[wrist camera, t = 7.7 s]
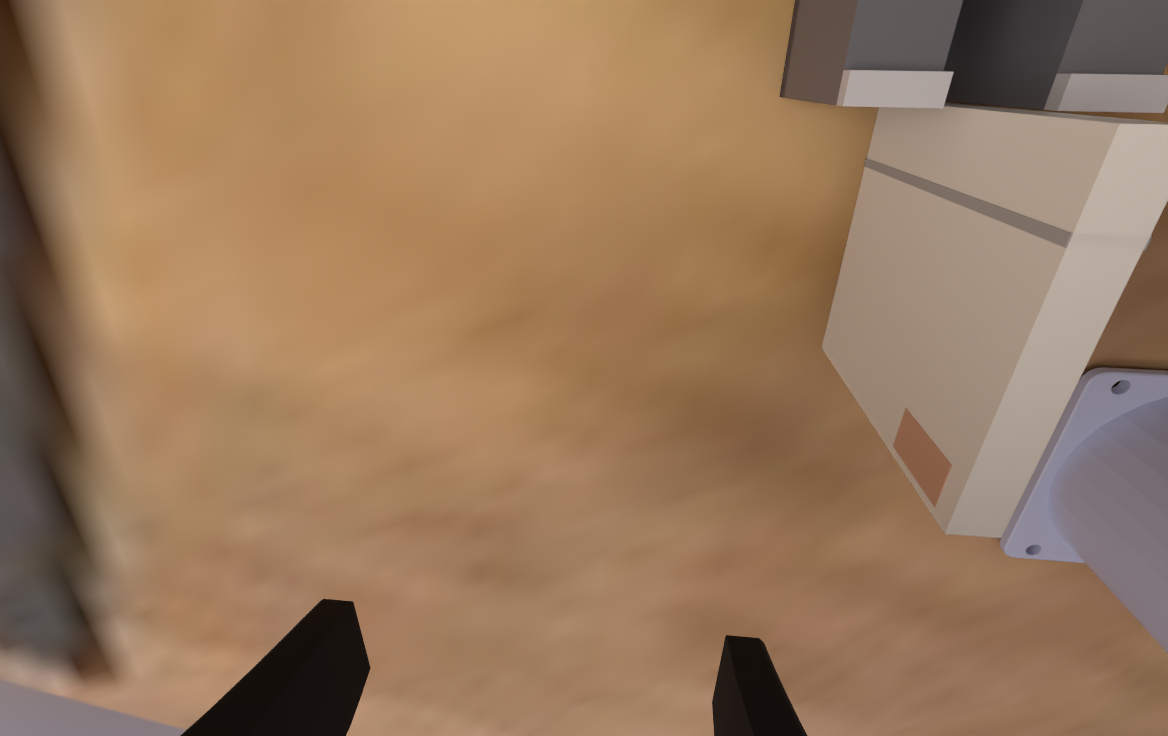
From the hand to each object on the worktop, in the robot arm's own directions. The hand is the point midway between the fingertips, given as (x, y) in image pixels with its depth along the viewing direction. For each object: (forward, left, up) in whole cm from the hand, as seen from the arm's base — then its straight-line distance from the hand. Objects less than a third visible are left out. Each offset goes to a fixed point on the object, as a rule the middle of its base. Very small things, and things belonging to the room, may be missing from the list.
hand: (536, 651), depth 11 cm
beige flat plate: (-8, -6, -9) cm, 14 cm away
